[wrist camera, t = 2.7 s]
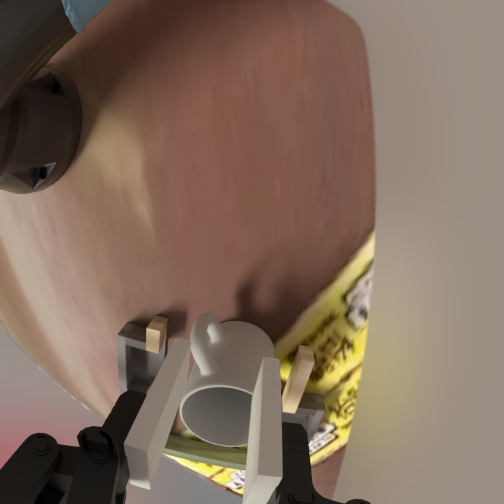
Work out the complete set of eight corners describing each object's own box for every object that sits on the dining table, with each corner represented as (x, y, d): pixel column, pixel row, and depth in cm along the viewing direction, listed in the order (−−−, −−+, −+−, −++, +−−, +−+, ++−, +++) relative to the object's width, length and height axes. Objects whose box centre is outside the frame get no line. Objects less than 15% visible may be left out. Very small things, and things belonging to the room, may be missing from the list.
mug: (284, 369, 36) (288, 438, 25) (219, 386, 37) (204, 453, 26) (247, 281, 33) (237, 337, 22) (175, 305, 34) (140, 362, 24)
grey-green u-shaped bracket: (127, 307, 34) (117, 319, 32) (340, 350, 35) (345, 365, 32) (131, 428, 41) (125, 441, 38) (290, 460, 41) (291, 475, 38)
